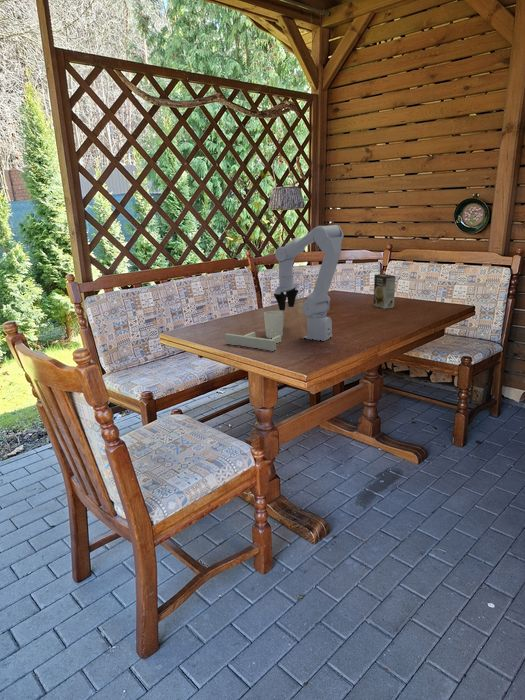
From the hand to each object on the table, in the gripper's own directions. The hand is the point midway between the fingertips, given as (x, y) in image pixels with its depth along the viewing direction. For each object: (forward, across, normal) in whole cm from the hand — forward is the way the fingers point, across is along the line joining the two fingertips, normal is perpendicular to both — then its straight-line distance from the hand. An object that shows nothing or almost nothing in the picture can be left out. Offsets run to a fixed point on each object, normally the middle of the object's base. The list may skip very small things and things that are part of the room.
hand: (286, 308), depth 199 cm
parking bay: (+9, +23, 0) cm, 24 cm away
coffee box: (+10, -62, +21) cm, 66 cm away
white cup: (+10, +12, 0) cm, 15 cm away
